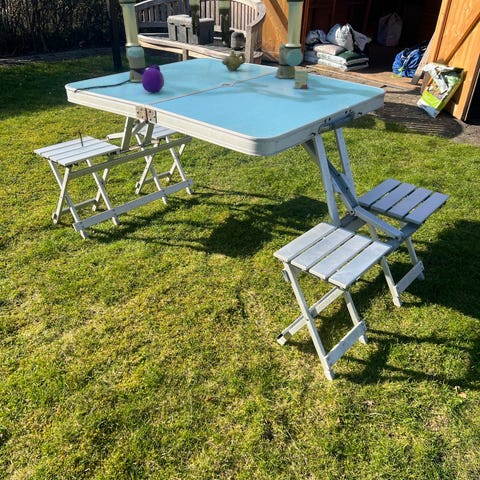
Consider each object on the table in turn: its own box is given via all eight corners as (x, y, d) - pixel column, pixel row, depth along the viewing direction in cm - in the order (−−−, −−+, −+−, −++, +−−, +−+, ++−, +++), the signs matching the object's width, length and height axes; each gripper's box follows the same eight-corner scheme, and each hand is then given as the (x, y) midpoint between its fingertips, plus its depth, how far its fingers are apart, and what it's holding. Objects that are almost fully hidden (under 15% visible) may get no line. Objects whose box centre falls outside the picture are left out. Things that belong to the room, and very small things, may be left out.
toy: (156, 85, 322) (164, 98, 301) (131, 81, 314) (137, 93, 294) (160, 63, 314) (168, 74, 293) (135, 58, 306) (141, 69, 286)
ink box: (307, 87, 310) (308, 69, 304) (306, 88, 306) (307, 70, 300) (294, 87, 311) (295, 69, 305) (294, 88, 307) (294, 70, 301)
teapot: (225, 72, 362) (225, 52, 354) (219, 70, 371) (218, 51, 363) (248, 69, 371) (248, 50, 364) (241, 67, 380) (241, 48, 372)
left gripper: (203, 5, 329) (204, 37, 339) (195, 4, 349) (197, 33, 360) (193, 5, 327) (195, 37, 337) (186, 4, 347) (188, 34, 358)
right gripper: (215, 7, 308) (217, 40, 319) (221, 9, 287) (223, 45, 298) (226, 6, 310) (227, 40, 320) (233, 8, 288) (234, 44, 299)
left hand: (196, 35), depth 349 cm, fingers open, 13 cm apart
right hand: (225, 42), depth 309 cm, fingers open, 13 cm apart
